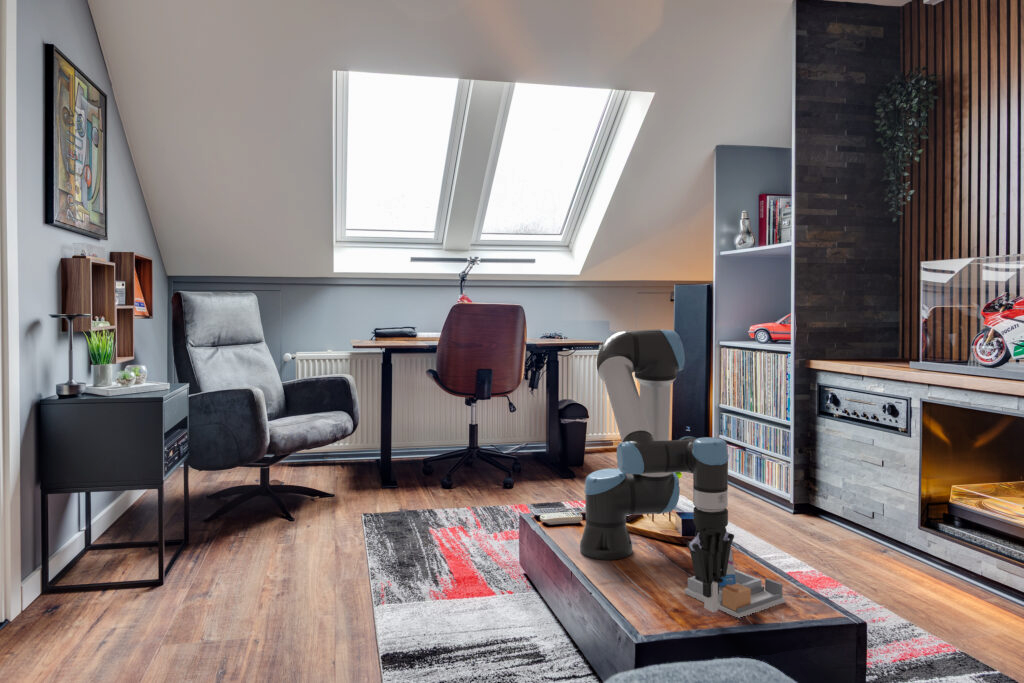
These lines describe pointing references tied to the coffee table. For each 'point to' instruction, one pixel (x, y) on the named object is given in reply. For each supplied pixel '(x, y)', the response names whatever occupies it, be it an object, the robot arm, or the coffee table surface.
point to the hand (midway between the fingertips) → (711, 609)
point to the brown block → (736, 596)
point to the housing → (758, 594)
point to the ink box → (729, 572)
